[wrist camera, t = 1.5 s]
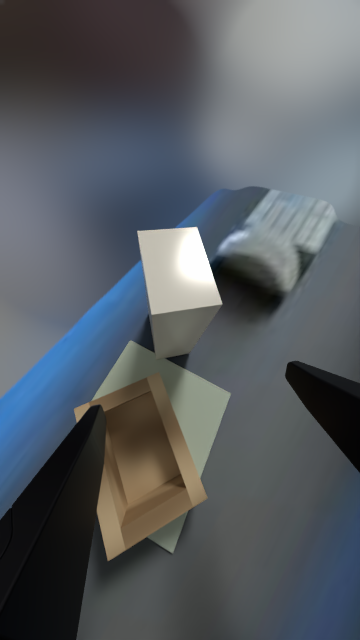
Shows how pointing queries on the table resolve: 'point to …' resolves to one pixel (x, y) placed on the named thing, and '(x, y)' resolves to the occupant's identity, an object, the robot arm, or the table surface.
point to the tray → (142, 465)
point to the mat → (188, 404)
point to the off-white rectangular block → (177, 289)
